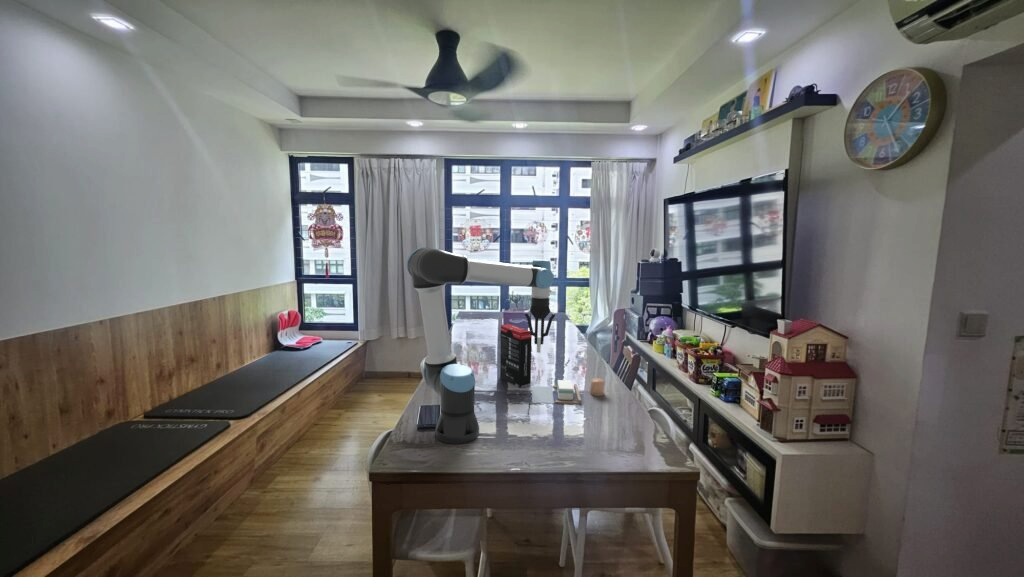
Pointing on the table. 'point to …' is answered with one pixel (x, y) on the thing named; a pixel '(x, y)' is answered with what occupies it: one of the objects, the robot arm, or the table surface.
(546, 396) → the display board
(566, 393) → the carton
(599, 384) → the wooden block
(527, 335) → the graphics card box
